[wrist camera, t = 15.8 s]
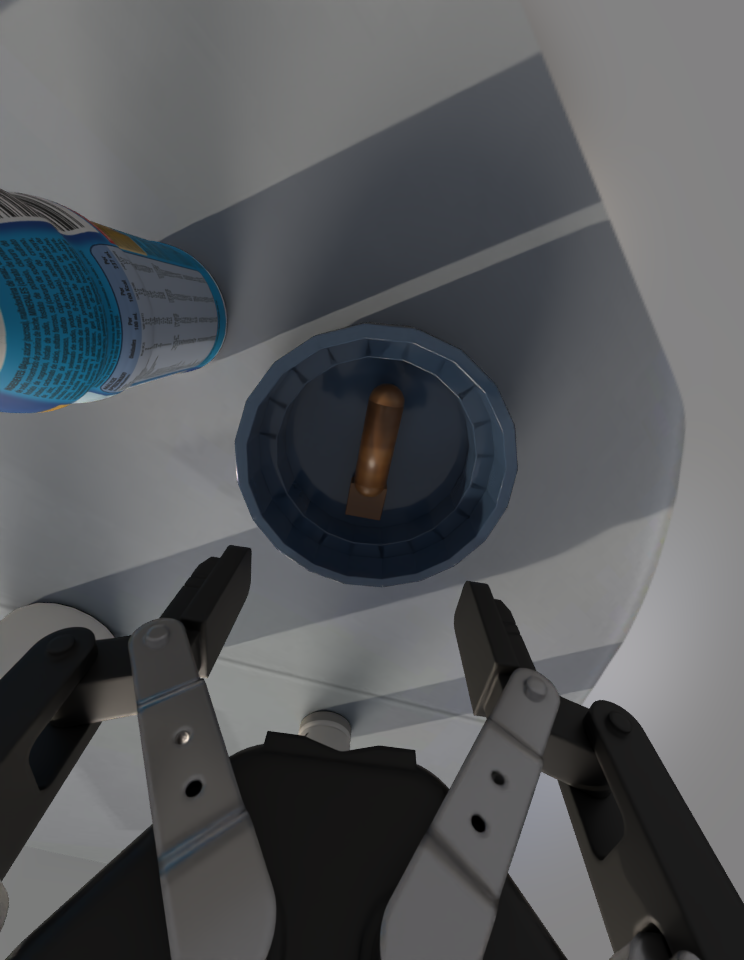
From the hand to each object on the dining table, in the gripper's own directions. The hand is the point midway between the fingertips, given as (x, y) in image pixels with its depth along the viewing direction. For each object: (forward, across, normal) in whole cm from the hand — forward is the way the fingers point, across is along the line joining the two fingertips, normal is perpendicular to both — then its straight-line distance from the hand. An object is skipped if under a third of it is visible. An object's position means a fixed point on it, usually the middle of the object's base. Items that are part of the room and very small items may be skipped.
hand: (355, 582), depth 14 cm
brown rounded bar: (+17, 0, +1) cm, 17 cm away
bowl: (+18, 0, +1) cm, 18 cm away
